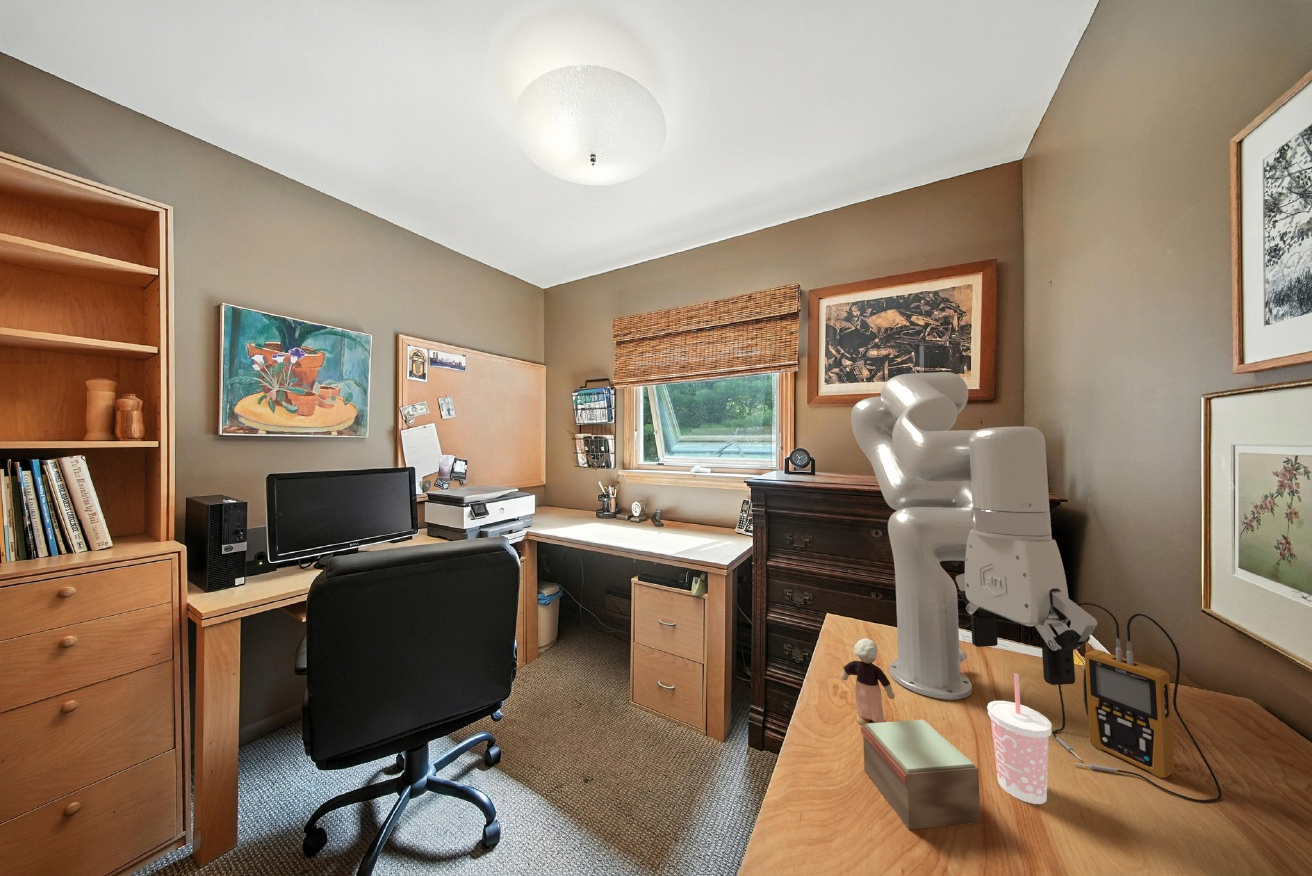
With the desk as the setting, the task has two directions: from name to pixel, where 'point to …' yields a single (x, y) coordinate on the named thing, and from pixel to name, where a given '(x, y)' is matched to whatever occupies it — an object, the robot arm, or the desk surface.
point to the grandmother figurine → (868, 683)
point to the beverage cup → (1020, 748)
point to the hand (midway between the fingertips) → (1018, 662)
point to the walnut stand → (921, 774)
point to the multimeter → (1131, 710)
